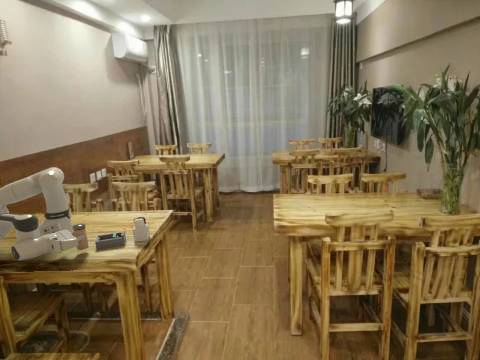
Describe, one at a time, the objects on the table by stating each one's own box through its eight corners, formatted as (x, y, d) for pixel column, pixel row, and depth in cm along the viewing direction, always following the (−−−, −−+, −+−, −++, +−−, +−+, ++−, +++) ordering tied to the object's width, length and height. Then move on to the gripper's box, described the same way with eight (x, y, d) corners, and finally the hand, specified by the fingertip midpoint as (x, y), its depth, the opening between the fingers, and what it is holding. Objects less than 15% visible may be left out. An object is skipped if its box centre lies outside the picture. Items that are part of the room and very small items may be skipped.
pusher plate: (113, 243, 184) (112, 236, 183) (115, 238, 191) (114, 232, 190) (118, 242, 185) (117, 236, 184) (119, 237, 191) (118, 231, 190)
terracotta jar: (75, 250, 174) (71, 228, 171) (77, 246, 179) (73, 224, 176) (87, 249, 175) (83, 226, 172) (89, 244, 180) (86, 222, 178)
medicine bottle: (137, 237, 194) (134, 216, 191) (150, 235, 195) (147, 215, 192) (134, 242, 187) (131, 220, 184) (147, 240, 188) (144, 219, 185)
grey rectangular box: (96, 249, 181) (94, 240, 180) (99, 242, 190) (97, 233, 189) (124, 244, 184) (123, 235, 183) (125, 238, 194) (124, 229, 192)
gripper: (48, 243, 176) (77, 234, 185) (58, 254, 161) (89, 245, 169) (46, 231, 175) (75, 223, 183) (56, 241, 159) (87, 233, 168)
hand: (82, 234), depth 176 cm, fingers closed on terracotta jar, 5 cm apart
